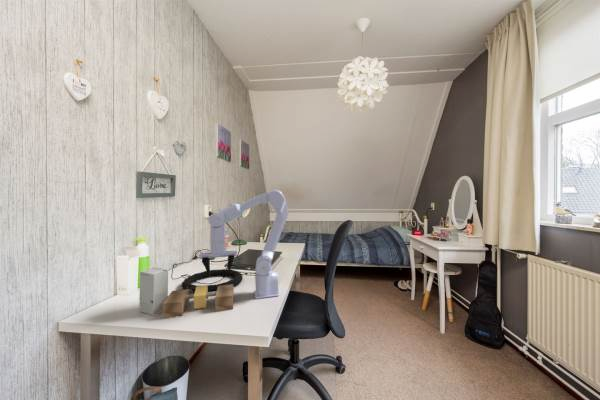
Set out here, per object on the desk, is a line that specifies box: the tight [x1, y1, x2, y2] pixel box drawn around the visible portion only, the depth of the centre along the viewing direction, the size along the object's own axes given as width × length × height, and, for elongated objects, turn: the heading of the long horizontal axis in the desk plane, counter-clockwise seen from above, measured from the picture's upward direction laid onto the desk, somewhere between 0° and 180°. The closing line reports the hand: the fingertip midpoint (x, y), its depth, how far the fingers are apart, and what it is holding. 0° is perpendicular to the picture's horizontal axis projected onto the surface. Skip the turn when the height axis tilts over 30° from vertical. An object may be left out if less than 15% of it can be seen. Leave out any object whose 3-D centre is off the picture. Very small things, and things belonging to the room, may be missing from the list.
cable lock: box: [181, 268, 244, 294], centre depth 112 cm, size 28×4×30 cm
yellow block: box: [193, 284, 209, 310], centre depth 89 cm, size 4×6×5 cm, turn 14°
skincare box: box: [138, 267, 169, 316], centre depth 87 cm, size 8×6×15 cm
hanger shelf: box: [162, 284, 235, 319], centre depth 89 cm, size 23×12×5 cm, turn 104°
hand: (219, 275), depth 96 cm, fingers open, 7 cm apart
